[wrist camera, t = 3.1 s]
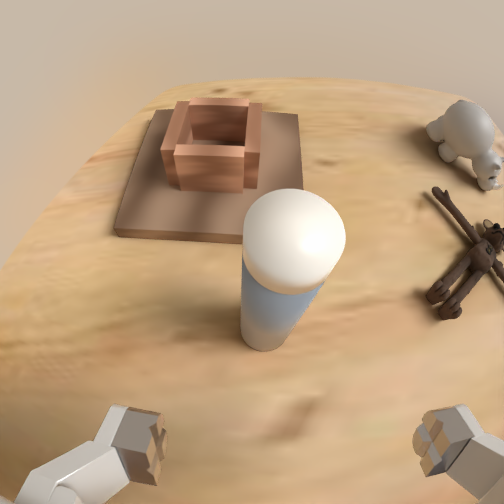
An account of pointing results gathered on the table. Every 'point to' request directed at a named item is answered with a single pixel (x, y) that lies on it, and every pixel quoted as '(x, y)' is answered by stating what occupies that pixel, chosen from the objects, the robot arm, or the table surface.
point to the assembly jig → (208, 170)
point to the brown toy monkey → (467, 260)
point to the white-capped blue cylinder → (285, 262)
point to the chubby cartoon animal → (468, 140)
